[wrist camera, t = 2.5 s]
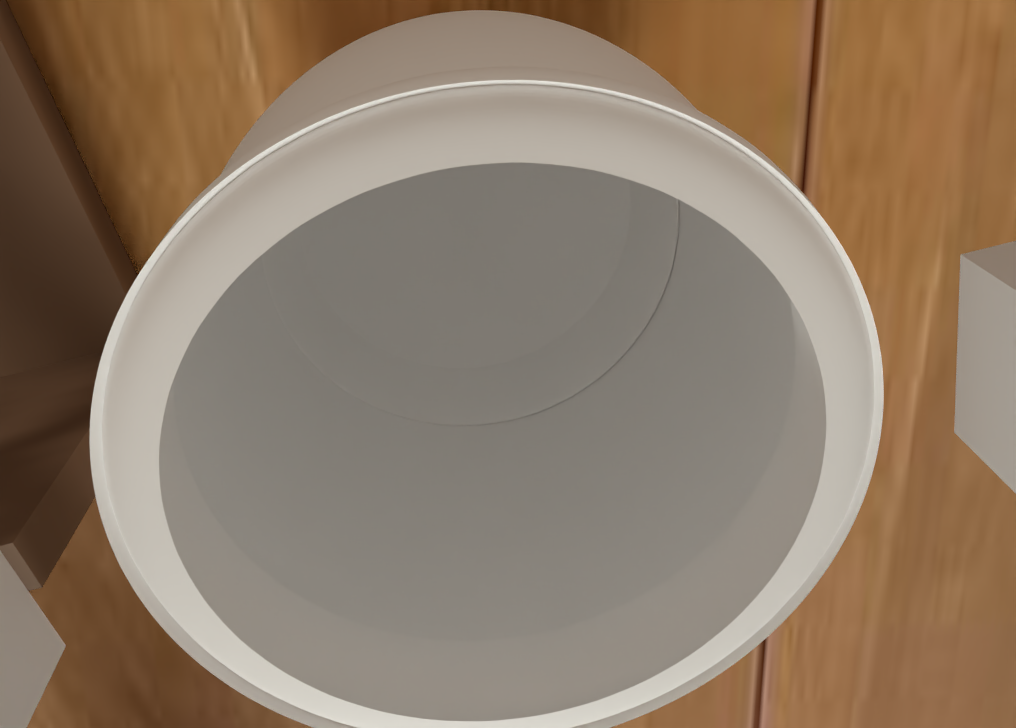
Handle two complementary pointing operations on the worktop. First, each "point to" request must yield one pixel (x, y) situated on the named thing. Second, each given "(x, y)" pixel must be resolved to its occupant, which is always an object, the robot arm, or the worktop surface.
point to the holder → (47, 315)
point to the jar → (485, 391)
